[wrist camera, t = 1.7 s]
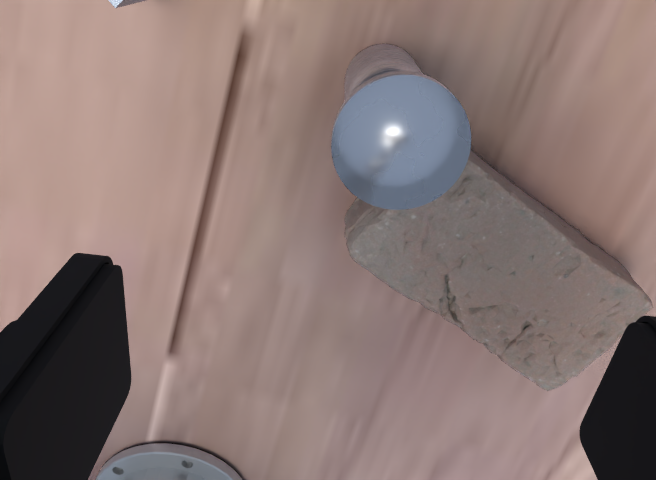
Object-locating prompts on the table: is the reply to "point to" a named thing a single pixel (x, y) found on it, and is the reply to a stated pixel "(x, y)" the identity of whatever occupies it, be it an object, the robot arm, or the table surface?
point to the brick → (502, 273)
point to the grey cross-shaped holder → (123, 2)
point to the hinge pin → (397, 131)
